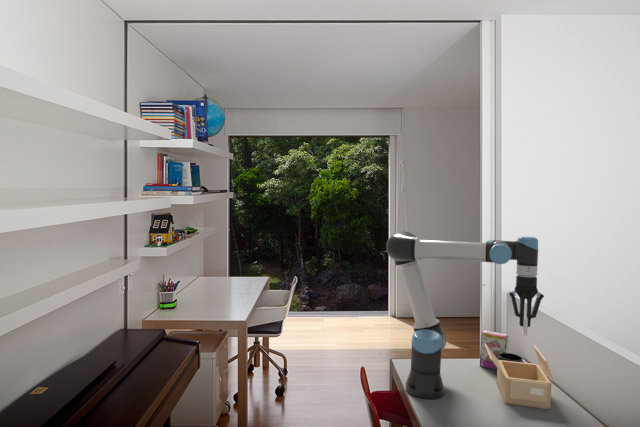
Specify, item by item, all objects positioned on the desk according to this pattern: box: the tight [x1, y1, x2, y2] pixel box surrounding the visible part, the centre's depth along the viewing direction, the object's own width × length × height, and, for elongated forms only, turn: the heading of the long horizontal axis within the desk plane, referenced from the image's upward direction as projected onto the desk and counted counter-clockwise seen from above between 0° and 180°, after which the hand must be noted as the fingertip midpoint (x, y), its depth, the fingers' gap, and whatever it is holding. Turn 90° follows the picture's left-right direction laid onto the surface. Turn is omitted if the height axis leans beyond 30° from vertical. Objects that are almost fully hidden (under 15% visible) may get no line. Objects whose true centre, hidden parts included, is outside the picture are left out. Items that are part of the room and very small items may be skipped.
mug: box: [499, 352, 525, 363], centre depth 199 cm, size 9×12×9 cm
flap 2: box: [533, 344, 554, 383], centre depth 178 cm, size 8×19×1 cm
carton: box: [496, 360, 552, 410], centre depth 180 cm, size 16×22×10 cm
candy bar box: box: [479, 329, 509, 371], centre depth 209 cm, size 11×5×16 cm, turn 58°
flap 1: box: [485, 343, 505, 376], centre depth 182 cm, size 8×19×1 cm
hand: (524, 334), depth 179 cm, fingers closed
